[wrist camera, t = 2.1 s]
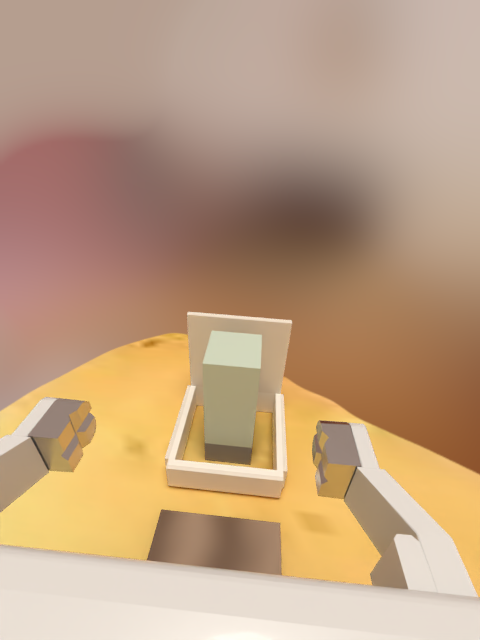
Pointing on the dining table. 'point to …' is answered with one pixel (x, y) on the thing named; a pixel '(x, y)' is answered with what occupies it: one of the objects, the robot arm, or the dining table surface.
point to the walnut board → (217, 542)
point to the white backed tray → (267, 401)
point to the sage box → (230, 395)
